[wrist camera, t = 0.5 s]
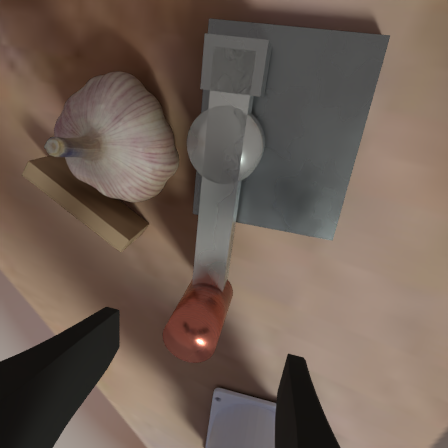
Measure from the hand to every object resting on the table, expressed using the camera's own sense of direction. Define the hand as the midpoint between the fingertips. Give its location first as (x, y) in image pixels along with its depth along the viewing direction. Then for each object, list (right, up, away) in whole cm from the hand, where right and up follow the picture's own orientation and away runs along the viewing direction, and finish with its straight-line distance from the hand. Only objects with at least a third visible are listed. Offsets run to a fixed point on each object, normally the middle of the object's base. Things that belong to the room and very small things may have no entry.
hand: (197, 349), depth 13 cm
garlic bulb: (-5, +11, +8) cm, 15 cm away
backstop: (-8, +7, +10) cm, 15 cm away
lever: (+1, +7, +7) cm, 10 cm away
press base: (+4, +10, +6) cm, 13 cm away
